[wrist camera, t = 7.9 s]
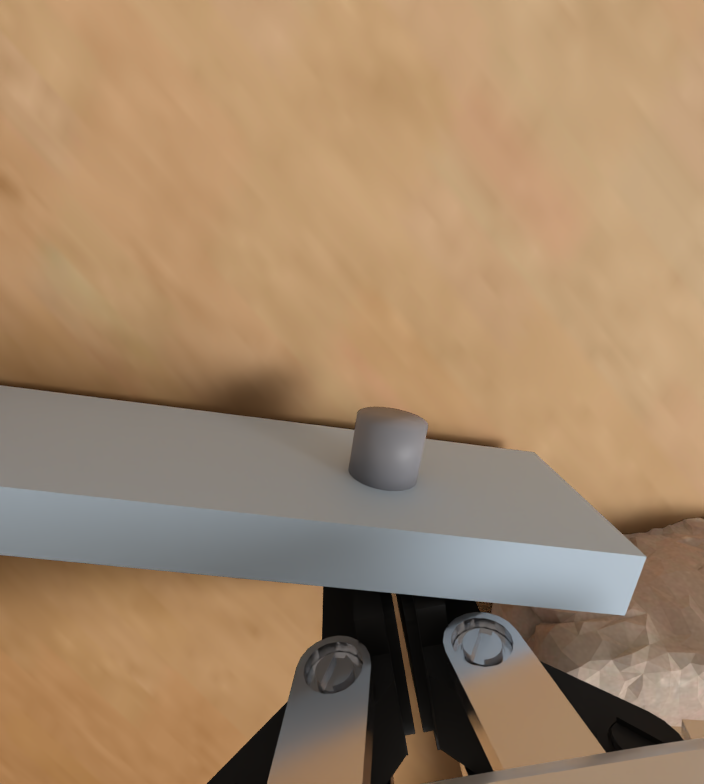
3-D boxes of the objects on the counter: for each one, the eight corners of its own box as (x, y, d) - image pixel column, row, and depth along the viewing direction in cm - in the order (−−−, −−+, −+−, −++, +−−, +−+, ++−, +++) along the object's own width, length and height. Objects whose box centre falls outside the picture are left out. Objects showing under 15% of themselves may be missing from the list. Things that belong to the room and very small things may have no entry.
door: (-138, 410, 11) (-648, 568, 5) (-152, 312, 10) (-749, 370, 5) (518, 488, 12) (680, 682, 7) (540, 405, 12) (740, 540, 6)
